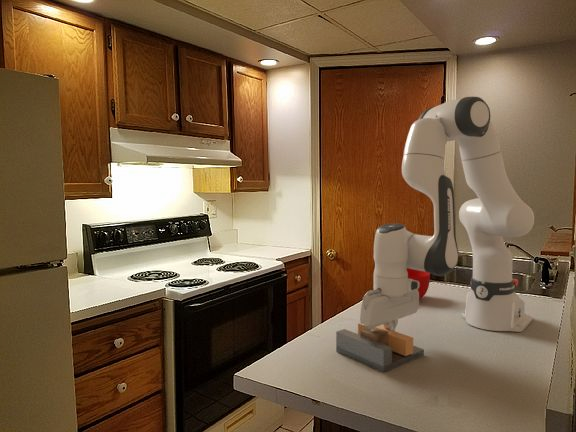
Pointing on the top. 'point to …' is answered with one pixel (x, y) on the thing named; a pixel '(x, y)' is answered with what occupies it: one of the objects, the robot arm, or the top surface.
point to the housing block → (376, 335)
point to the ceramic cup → (420, 280)
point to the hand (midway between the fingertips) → (390, 335)
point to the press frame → (372, 351)
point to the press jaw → (395, 340)
